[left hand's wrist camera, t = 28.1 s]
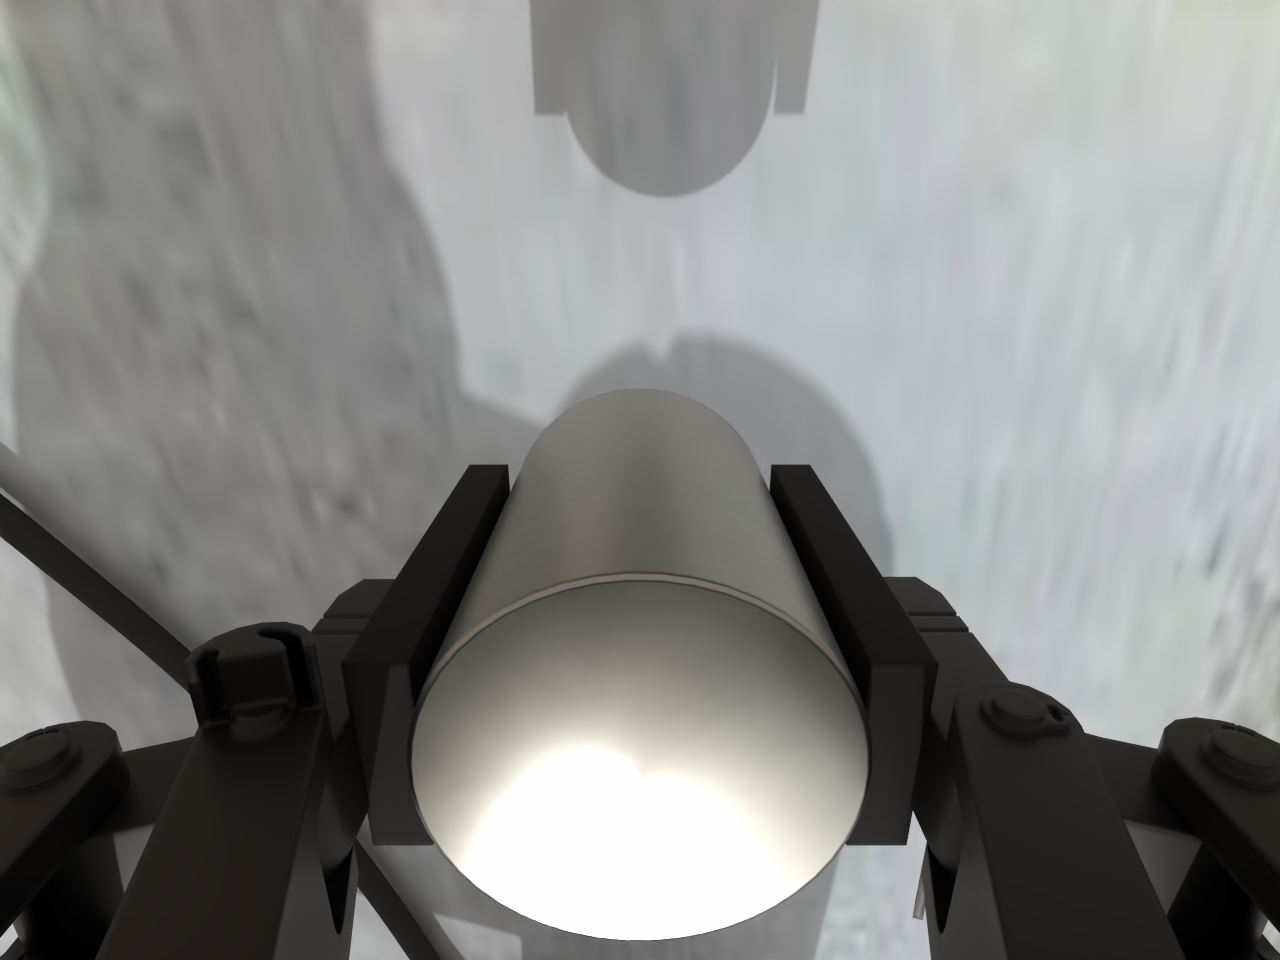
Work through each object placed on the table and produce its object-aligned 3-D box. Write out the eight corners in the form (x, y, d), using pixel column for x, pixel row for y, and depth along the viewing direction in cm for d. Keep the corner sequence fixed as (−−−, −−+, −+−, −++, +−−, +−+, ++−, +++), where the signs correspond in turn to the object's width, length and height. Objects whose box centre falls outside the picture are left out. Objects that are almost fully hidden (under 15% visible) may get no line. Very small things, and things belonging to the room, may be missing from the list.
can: (668, 652, 16) (689, 999, 9) (471, 535, 15) (324, 824, 8) (814, 479, 15) (974, 734, 8) (606, 335, 14) (570, 476, 7)
